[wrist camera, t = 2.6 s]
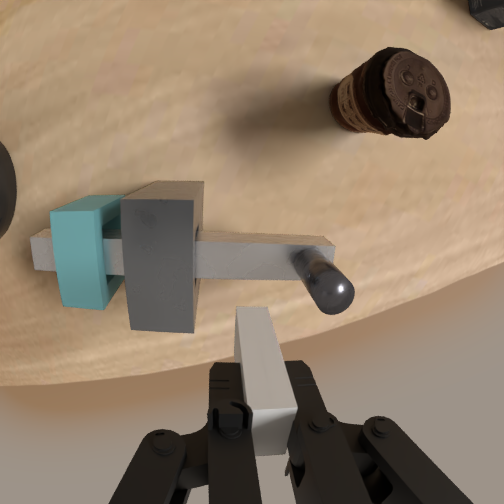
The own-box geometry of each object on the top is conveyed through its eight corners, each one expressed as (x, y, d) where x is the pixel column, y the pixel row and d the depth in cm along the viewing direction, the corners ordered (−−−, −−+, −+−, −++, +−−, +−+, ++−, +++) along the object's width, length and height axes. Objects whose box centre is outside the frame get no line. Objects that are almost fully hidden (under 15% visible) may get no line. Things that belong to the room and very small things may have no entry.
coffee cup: (344, 156, 32) (409, 162, 20) (303, 95, 29) (351, 65, 17) (396, 120, 31) (469, 115, 19) (359, 62, 28) (423, 29, 16)
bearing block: (158, 268, 34) (131, 329, 22) (157, 180, 31) (120, 199, 18) (201, 269, 34) (193, 333, 22) (204, 181, 31) (193, 200, 19)
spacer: (94, 270, 29) (62, 306, 21) (88, 195, 26) (49, 211, 19) (128, 272, 29) (103, 310, 22) (125, 195, 27) (93, 211, 19)
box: (490, 31, 26) (532, 21, 16) (469, 14, 26) (512, 0, 16) (485, 0, 24) (523, -12, 14) (464, -17, 23) (502, -33, 13)
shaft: (49, 258, 24) (-2, 299, 16) (45, 228, 24) (-11, 261, 15) (319, 267, 28) (358, 316, 19) (323, 236, 27) (368, 274, 18)
